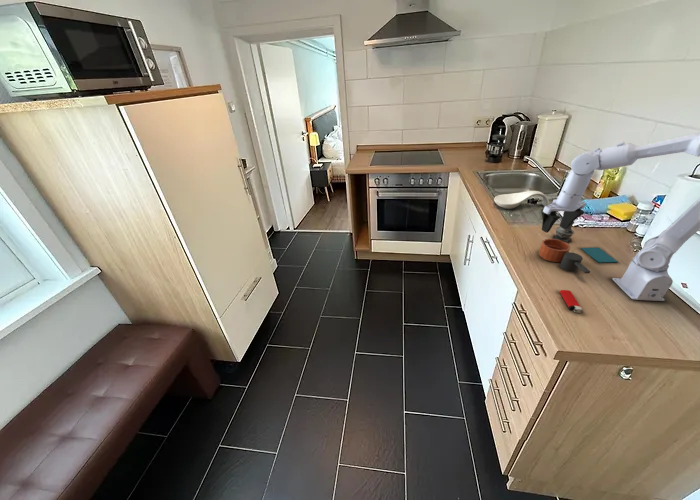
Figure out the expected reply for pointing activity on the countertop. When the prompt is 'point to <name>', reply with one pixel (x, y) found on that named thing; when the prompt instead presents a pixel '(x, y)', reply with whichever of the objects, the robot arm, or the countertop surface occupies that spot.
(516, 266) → the countertop surface
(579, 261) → the scoop
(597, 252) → the cloth
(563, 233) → the grey tall lumpy piece
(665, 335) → the countertop surface
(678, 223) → the robot arm
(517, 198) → the spoon rest
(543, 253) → the bowl
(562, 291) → the lighter
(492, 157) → the french press
